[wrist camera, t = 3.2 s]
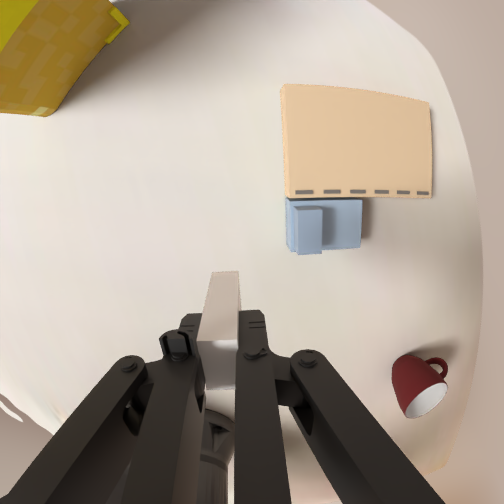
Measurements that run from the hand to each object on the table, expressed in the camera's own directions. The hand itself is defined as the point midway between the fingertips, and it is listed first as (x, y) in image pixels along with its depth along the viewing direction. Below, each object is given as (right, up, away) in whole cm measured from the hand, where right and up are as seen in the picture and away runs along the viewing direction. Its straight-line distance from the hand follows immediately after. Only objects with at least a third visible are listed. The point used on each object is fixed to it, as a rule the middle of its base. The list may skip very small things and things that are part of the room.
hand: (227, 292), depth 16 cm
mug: (+29, -16, +24) cm, 41 cm away
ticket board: (+14, +15, +13) cm, 24 cm away
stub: (+9, +6, +15) cm, 19 cm away
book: (-22, +27, +7) cm, 36 cm away
